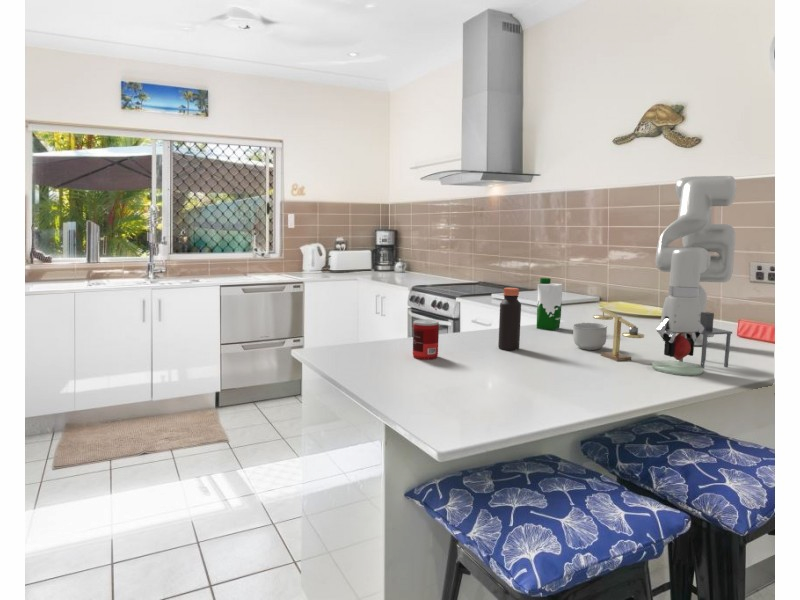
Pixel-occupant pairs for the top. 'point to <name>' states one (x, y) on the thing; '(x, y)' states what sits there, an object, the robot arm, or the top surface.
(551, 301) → the milk carton
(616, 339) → the balance
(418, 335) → the canned food
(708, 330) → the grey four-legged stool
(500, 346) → the bottle
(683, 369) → the dish
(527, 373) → the top surface
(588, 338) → the teacup
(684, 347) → the onion
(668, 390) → the top surface
